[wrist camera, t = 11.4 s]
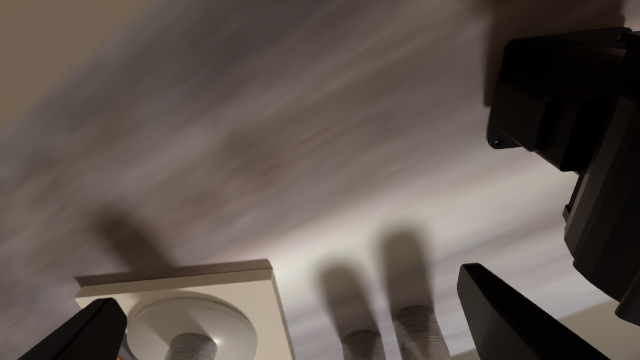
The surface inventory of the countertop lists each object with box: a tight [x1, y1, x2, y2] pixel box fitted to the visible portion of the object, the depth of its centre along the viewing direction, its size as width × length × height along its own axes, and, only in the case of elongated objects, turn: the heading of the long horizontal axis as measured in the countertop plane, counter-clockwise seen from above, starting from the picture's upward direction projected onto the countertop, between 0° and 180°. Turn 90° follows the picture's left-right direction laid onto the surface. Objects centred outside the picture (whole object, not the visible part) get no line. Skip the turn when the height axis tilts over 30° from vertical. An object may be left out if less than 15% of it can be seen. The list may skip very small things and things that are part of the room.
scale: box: [74, 268, 295, 360], centre depth 28 cm, size 16×13×2 cm
